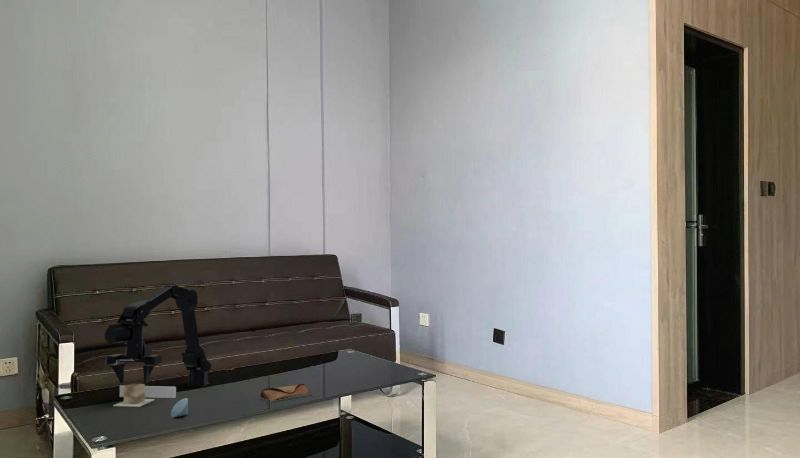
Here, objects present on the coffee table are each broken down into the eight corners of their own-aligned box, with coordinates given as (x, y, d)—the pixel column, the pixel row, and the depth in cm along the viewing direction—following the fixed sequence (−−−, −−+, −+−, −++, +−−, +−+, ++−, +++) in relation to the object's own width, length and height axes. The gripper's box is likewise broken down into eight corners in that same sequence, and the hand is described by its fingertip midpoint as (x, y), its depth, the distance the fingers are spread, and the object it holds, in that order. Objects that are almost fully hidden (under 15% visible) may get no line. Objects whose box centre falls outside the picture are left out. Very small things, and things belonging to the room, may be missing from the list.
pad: (154, 400, 227) (154, 399, 227) (139, 406, 217) (139, 405, 217) (129, 399, 228) (129, 398, 228) (113, 406, 218) (113, 405, 218)
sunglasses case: (269, 402, 221) (265, 384, 224) (263, 409, 226) (259, 392, 228) (314, 395, 231) (310, 378, 234) (307, 402, 236) (302, 385, 239)
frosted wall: (175, 397, 230) (175, 386, 231) (174, 398, 230) (174, 387, 230) (120, 396, 233) (120, 385, 234) (119, 396, 233) (119, 386, 233)
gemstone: (194, 401, 210) (183, 392, 208) (198, 409, 204) (187, 400, 202) (177, 419, 208) (166, 410, 206) (181, 428, 202) (169, 419, 200)
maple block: (144, 400, 225) (144, 384, 225) (136, 404, 220) (136, 387, 220) (131, 400, 225) (131, 383, 226) (123, 403, 220) (123, 386, 221)
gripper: (169, 337, 230) (169, 379, 229) (123, 336, 233) (122, 378, 232) (154, 341, 219) (153, 386, 218) (105, 341, 222) (104, 384, 221)
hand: (133, 383), depth 223 cm, fingers open, 9 cm apart
